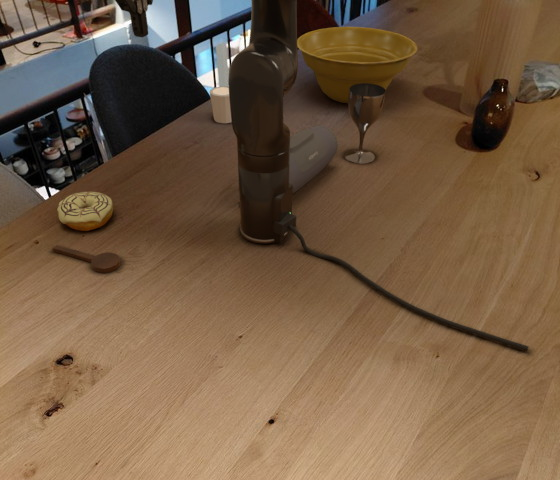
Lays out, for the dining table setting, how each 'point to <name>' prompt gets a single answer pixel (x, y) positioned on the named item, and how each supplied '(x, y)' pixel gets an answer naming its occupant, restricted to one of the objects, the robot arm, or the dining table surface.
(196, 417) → the dining table surface
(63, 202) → the decorated donut
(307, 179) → the bluetooth speaker
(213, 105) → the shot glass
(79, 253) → the spoon
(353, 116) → the wine glass
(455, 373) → the dining table surface
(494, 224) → the dining table surface
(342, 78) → the planter bowl
